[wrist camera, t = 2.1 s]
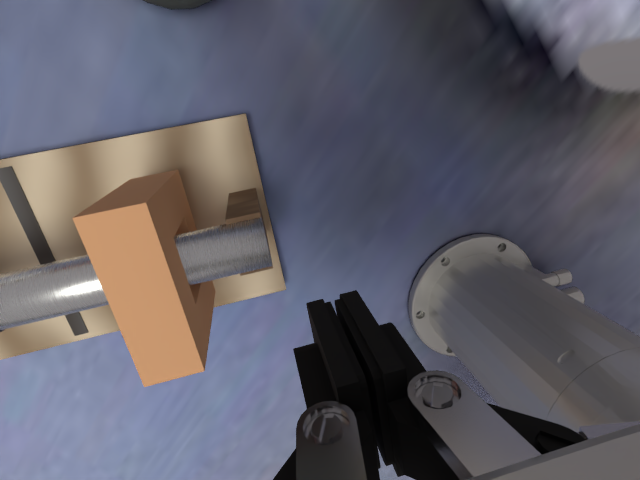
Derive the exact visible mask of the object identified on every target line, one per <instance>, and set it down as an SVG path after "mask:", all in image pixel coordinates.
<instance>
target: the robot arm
mask: <svg viewBox="0 0 640 480" xmlns="http://www.w3.org/2000/svg"><path fill="white" fill-rule="evenodd" d="M570 282H572V275H571V273H570V271H568V270H567V269H561V270H557V271H553V272H551V273H548V274H544V273H542V272H540V271H539V270H537V269H535V268H533V267H532V265H531V262H530V260H529V258H528V257H527V255H526V254H525V252H524V251H523V250H522V249H521V248H519V247H518V246H517V245H516V244H514V243H512V242H510V241H509V240H507V239H504V238H502V237H499V236H496V235H490V234H474V235H470V236H466V237H462V238H459V239H457V240H455V241H452V242H450V243H449V244H447V245H445V246H444V247H442V248H441V249H439V250H438V251H437V252H436V253H435V254H434V255H433V256H431V257H430V258H429V259H428V260H427V262H426V263H425V264H424V266H423V267H422V268H421V269H420V271H419V273H418V275H417V276H416V278H415V280H414V282H413V285H412V288H411V291H410V296H409V302H408V308H409V317H410V321H411V325H412V327H413V328H414V330H415V332H416V334H417V335H418V336H419V338H420V339H421V340H422V342H423V343H425V344H426V345H427V346H428V347H429V348H430V349H432V350H434V351H436V352H438V353H440V354H443V355H447V356H457V357H458V359H459V360H460V361H461V362H462V363H463V364H464V366H465V367H466V368H467V369H468V370H469V371H470V373H471V374H472V375H473V376H474V377H475V378H476V380H477V381H478V382H479V383H480V384H481V385H482V387H483V388H484V389H485V390H486V391H487V393H488V394H489V395H490V396H491V397H492V398H493V400H494V401H495V402H496V403H497V404H498V405H499V407H498V406H495V405H492V404H488V403H485V402H484V401H483V400H482V399H481V398H480V397H479V396H478V395H477V394H476V393H475V392H474V391H472V390H471V389H470V388H469V387H468V386H467V385H466V384H465V383H464V382H463V381H462V380H460V379H459V378H458V377H456V376H455V375H452V374H450V373H447V372H443V371H426V370H425V369H424V367H423V366H422V364H421V363H420V361H419V360H418V359H417V357H416V356H415V354H414V353H413V351H412V350H411V349H410V347H409V346H408V344H407V343H406V342H405V340H404V339H403V337H402V336H401V334H400V333H399V332H398V330H397V329H396V327H395V326H394V325H393V324H392V323H387V324H383V325H378V323H377V322H376V320H375V319H374V317H373V315H372V314H371V312H370V311H369V309H368V308H367V306H366V304H365V303H364V301H363V300H362V298H361V297H360V295H359V293H358V292H357V291H356V290H355V291H352V292H348V293H344V294H340V299H338V300H335V306H336V312H337V315H336V313H335V311H334V308H333V306H332V304H331V302H327V303H324V300H323V299H320V300H317V301H313V302H309V303H307V310H308V314H309V319H310V324H311V328H312V333H313V338H314V343H313V344H309V345H306V346H302V347H298V348H294V349H293V350H294V354H295V358H296V363H297V367H298V371H299V376H300V380H301V384H302V389H303V393H304V397H305V402H306V406H307V410H306V411H305V412H304V413H303V414H302V415H301V417H300V418H299V420H298V423H297V428H296V449H295V450H294V452H293V453H292V454H291V456H290V457H289V459H288V460H287V461H286V463H285V464H284V465H283V467H282V468H281V469H280V471H279V472H278V473H277V475H276V476H275V478H274V479H273V480H380V477H379V471H378V468H380V460H379V454H378V449H379V451H380V453H381V456H382V458H383V461H384V463H385V465H386V466H388V465H391V464H393V467H394V469H395V471H396V474H397V476H398V477H399V476H403V475H406V476H409V477H411V478H413V479H416V480H640V337H639V336H638V335H636V334H634V333H633V332H631V331H629V330H627V329H626V328H624V327H622V326H621V325H619V324H617V323H615V322H614V321H612V320H610V319H609V318H607V317H605V316H603V315H602V314H600V313H598V312H597V311H595V310H593V309H591V308H590V307H588V306H586V305H585V304H584V301H585V300H584V295H583V294H582V292H581V291H580V290H579V289H578V288H576V287H569V288H566V289H562V290H559V289H557V288H555V287H554V286H561V285H564V284H568V283H570ZM377 446H378V448H377Z"/></svg>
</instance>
